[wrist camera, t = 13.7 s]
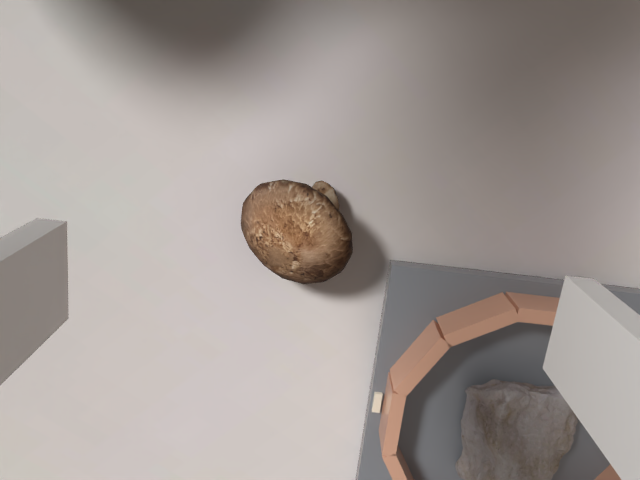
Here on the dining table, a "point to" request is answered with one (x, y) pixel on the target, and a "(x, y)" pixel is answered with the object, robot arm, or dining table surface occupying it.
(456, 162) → the dining table surface
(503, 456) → the stone
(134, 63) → the dining table surface
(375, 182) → the dining table surface
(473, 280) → the socket
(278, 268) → the mushroom
